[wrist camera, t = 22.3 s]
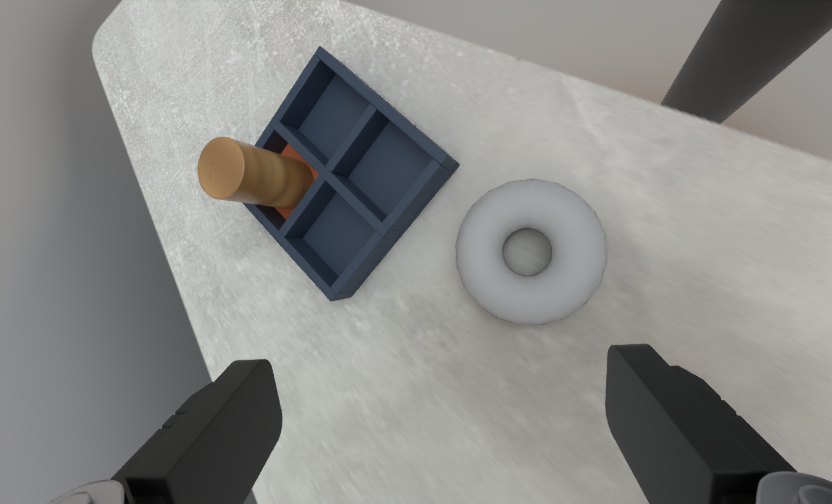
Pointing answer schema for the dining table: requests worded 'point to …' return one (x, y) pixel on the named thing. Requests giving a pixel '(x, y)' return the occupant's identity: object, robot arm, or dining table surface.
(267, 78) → the dining table surface
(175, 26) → the dining table surface
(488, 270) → the donut
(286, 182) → the wooden dowel cylinder
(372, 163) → the grid
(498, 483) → the dining table surface
